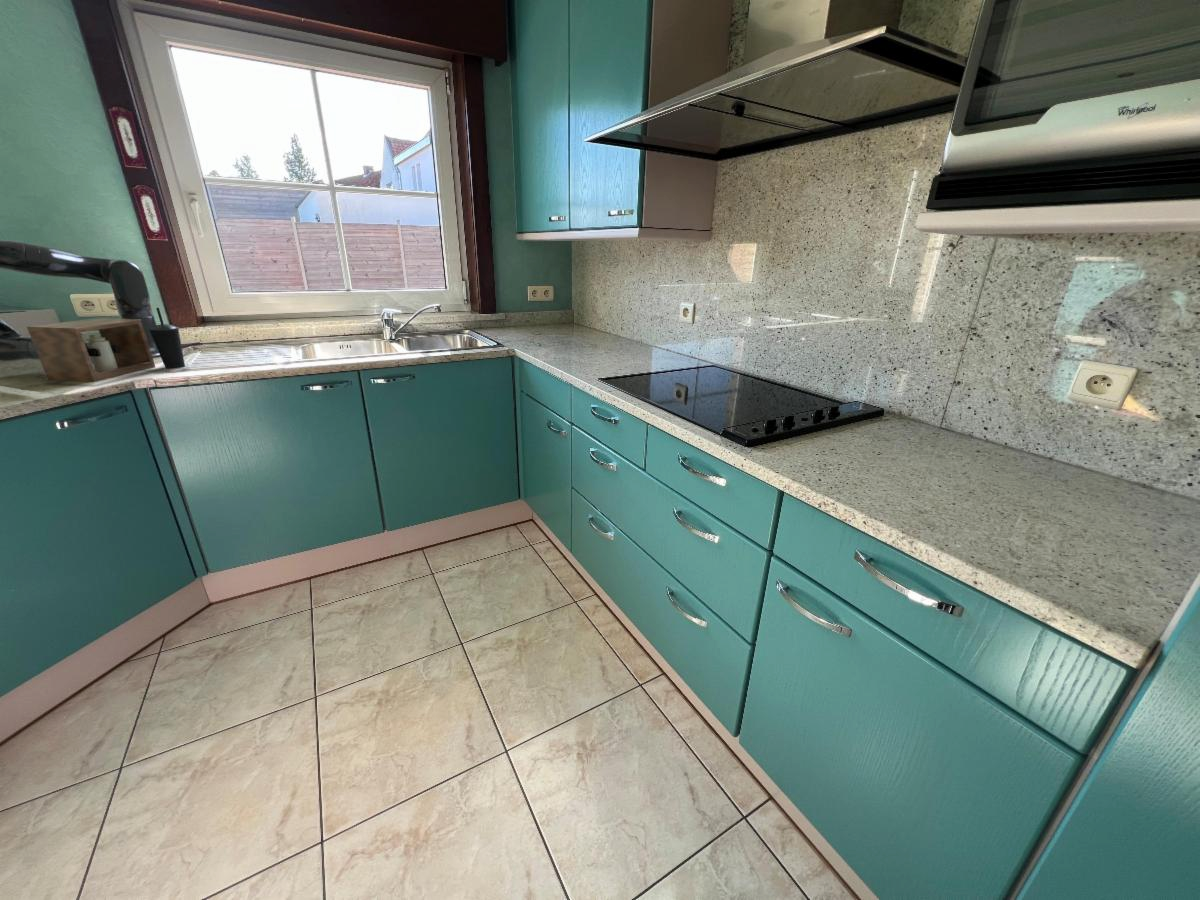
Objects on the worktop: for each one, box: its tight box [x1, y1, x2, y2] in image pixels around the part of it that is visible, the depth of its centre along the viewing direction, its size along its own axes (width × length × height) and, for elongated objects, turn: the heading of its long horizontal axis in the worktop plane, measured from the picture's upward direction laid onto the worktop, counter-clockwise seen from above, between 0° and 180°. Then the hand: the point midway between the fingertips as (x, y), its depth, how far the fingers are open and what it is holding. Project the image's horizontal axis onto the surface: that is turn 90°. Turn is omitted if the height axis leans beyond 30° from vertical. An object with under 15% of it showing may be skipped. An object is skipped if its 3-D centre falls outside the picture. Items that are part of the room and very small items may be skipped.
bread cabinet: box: [26, 317, 156, 383], centre depth 149 cm, size 14×20×16 cm
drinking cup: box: [148, 307, 186, 370], centre depth 158 cm, size 8×8×20 cm
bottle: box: [84, 333, 118, 372], centre depth 149 cm, size 5×5×11 cm
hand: (108, 350), depth 149 cm, fingers closed on bottle, 5 cm apart
